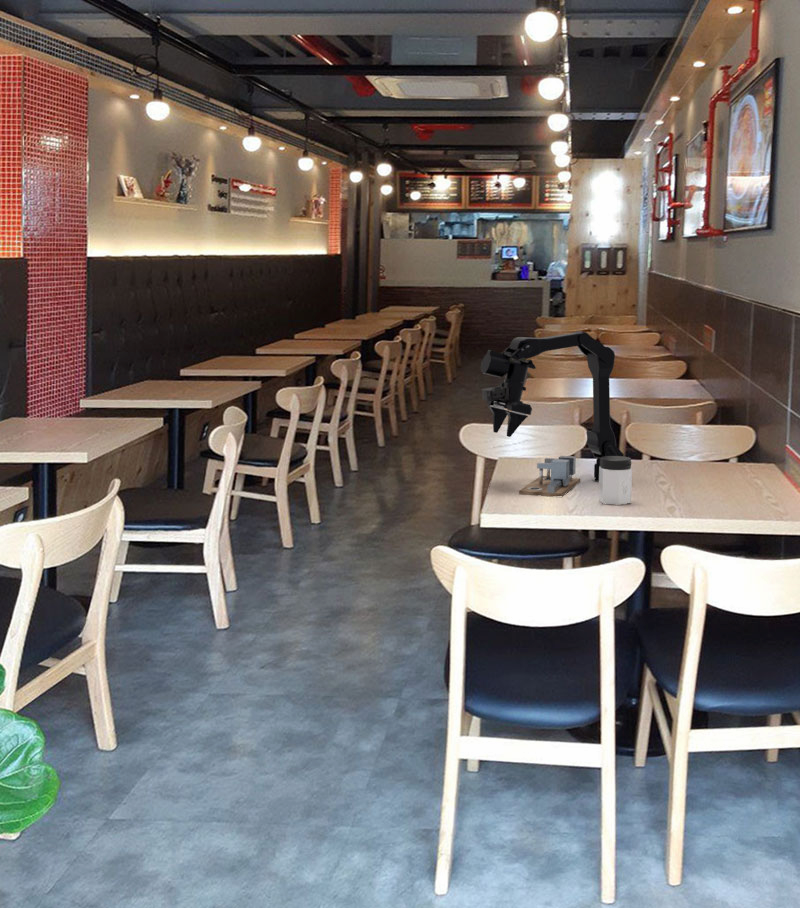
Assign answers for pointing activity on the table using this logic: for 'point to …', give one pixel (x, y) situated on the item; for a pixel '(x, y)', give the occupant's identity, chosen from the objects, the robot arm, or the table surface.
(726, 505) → the table surface
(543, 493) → the hole plate
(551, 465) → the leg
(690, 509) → the table surface
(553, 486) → the beam
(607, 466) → the jar
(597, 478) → the robot arm
